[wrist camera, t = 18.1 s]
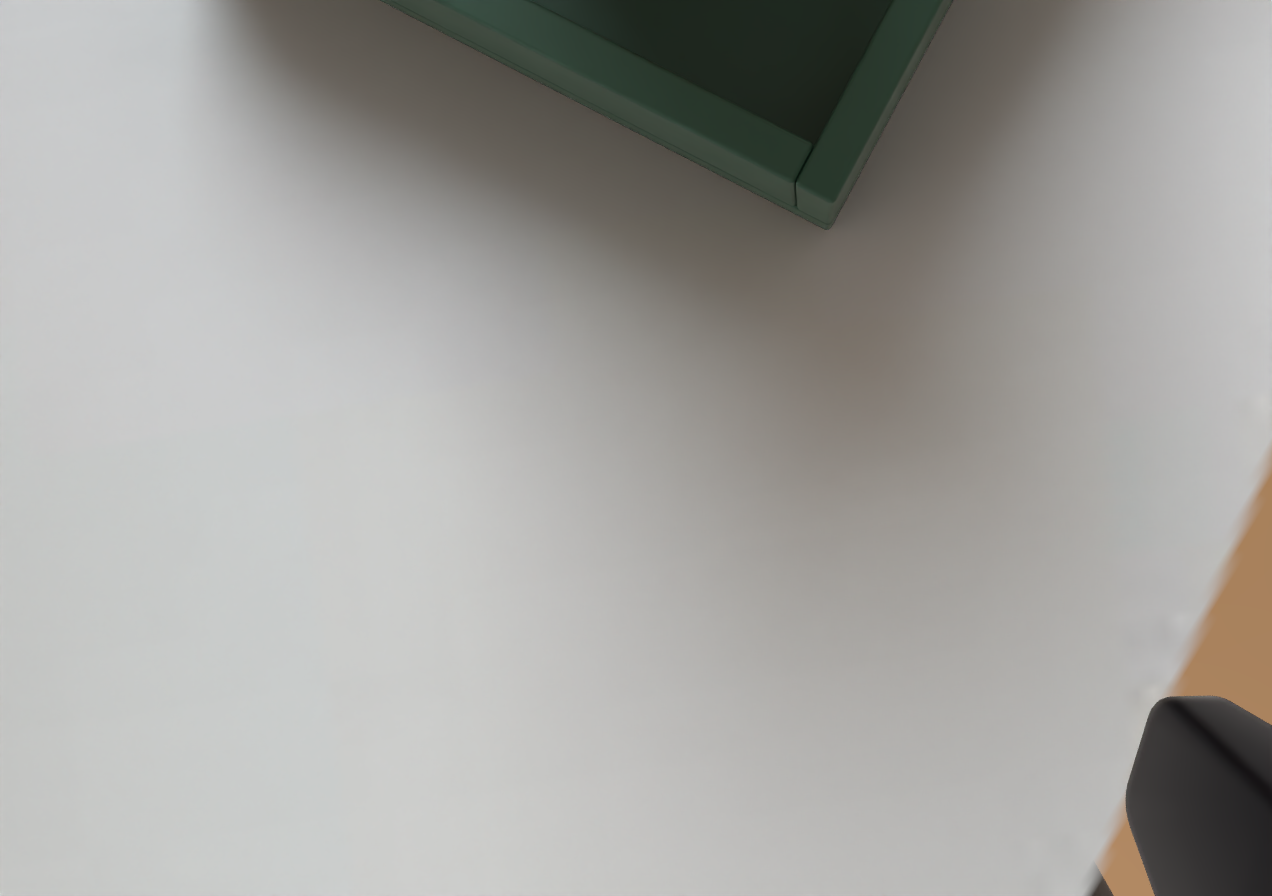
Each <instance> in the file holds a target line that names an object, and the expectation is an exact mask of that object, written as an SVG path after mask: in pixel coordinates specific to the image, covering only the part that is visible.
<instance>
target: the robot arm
mask: <svg viewBox="0 0 1272 896" xmlns="http://www.w3.org/2000/svg"><path fill="white" fill-rule="evenodd" d="M1126 812H1127V817H1128V821H1129V825H1130V828H1131V831H1132V834H1133V836H1134V839H1135V842H1136V845H1137V847H1138V850H1139V853H1140V856H1141V859H1142V861H1143V864H1144V867H1145V870H1146V872H1147V875H1148V878H1149V881H1150V883H1151V886H1152V889H1153V891H1154V894H1155V896H1272V725H1270V724H1268V723H1267V722H1265V721H1263V720H1261V719H1260V718H1258V717H1256V716H1255V715H1253V714H1251V713H1250V712H1248V711H1246V710H1244V709H1243V708H1241V707H1239V706H1238V705H1236V704H1234V703H1232V702H1231V701H1228V700H1227V699H1224V698H1221V697H1217V696H1177V697H1167V698H1164V699H1161V700H1159V701H1158V702H1157V703H1156V704H1155V705H1154V706H1153V708H1152V709H1151V711H1150V714H1149V716H1148V719H1147V722H1146V725H1145V729H1144V732H1143V735H1142V738H1141V742H1140V745H1139V748H1138V751H1137V755H1136V758H1135V761H1134V764H1133V768H1132V771H1131V774H1130V777H1129V781H1128V784H1127V790H1126Z"/></svg>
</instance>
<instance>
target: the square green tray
mask: <svg viewBox="0 0 1272 896" xmlns="http://www.w3.org/2000/svg"><path fill="white" fill-rule="evenodd" d="M380 1H382V2H384V3H386V4H388V5H390V6H392V7H394V8H396V9H398V10H400V11H402V12H404V13H405V14H407V15H409V16H411V17H413V18H415V19H417V20H419V21H421V22H423V23H425V24H427V25H429V26H431V27H433V28H435V29H437V30H439V31H440V32H442V33H444V34H446V35H448V36H450V37H452V38H454V39H456V40H458V41H460V42H462V43H464V44H466V45H468V46H470V47H472V48H473V49H475V50H477V51H479V52H481V53H483V54H485V55H487V56H489V57H491V58H493V59H495V60H497V61H499V62H501V63H503V64H505V65H507V66H508V67H510V68H512V69H514V70H516V71H518V72H520V73H522V74H524V75H526V76H528V77H530V78H532V79H534V80H536V81H538V82H540V83H542V84H543V85H545V86H547V87H549V88H551V89H553V90H555V91H557V92H559V93H561V94H563V95H565V96H567V97H569V98H571V99H573V100H575V101H577V102H578V103H580V104H582V105H584V106H586V107H588V108H590V109H592V110H594V111H596V112H598V113H600V114H602V115H604V116H606V117H608V118H610V119H612V120H613V121H615V122H617V123H619V124H621V125H623V126H625V127H627V128H629V129H631V130H633V131H635V132H637V133H639V134H641V135H643V136H645V137H647V138H648V139H650V140H652V141H654V142H656V143H658V144H660V145H662V146H664V147H666V148H668V149H670V150H672V151H674V152H676V153H678V154H680V155H682V156H683V157H685V158H687V159H689V160H691V161H693V162H695V163H697V164H699V165H701V166H703V167H705V168H707V169H709V170H711V171H713V172H715V173H717V174H718V175H720V176H722V177H724V178H726V179H728V180H730V181H732V182H734V183H736V184H738V185H740V186H742V187H744V188H746V189H748V190H750V191H752V192H753V193H755V194H757V195H759V196H761V197H763V198H765V199H767V200H769V201H771V202H773V203H775V204H777V205H779V206H781V207H783V208H785V209H787V210H788V211H790V212H792V213H794V214H796V215H798V216H800V217H802V218H804V219H806V220H808V221H810V222H812V223H814V224H816V225H818V226H820V227H821V228H823V229H825V230H829V229H830V228H831V227H832V225H833V223H834V221H835V219H836V217H837V216H838V214H839V212H840V210H841V208H842V206H843V204H844V203H845V201H846V199H847V197H848V195H849V193H850V191H851V189H852V188H853V186H854V184H855V182H856V180H857V178H858V176H859V175H860V173H861V171H862V169H863V167H864V165H865V163H866V162H867V160H868V158H869V156H870V154H871V152H872V150H873V149H874V147H875V145H876V143H877V141H878V139H879V137H880V135H881V134H882V132H883V130H884V128H885V126H886V124H887V122H888V121H889V119H890V117H891V115H892V113H893V111H894V109H895V108H896V106H897V104H898V102H899V100H900V98H901V96H902V94H903V93H904V91H905V89H906V87H907V85H908V83H909V81H910V80H911V78H912V76H913V74H914V72H915V70H916V68H917V67H918V65H919V63H920V61H921V59H922V57H923V55H924V53H925V52H926V50H927V48H928V46H929V44H930V42H931V40H932V39H933V37H934V35H935V33H936V31H937V29H938V27H939V26H940V24H941V22H942V20H943V18H944V16H945V14H946V12H947V11H948V9H949V7H950V5H951V3H952V1H953V0H380Z"/></svg>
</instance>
